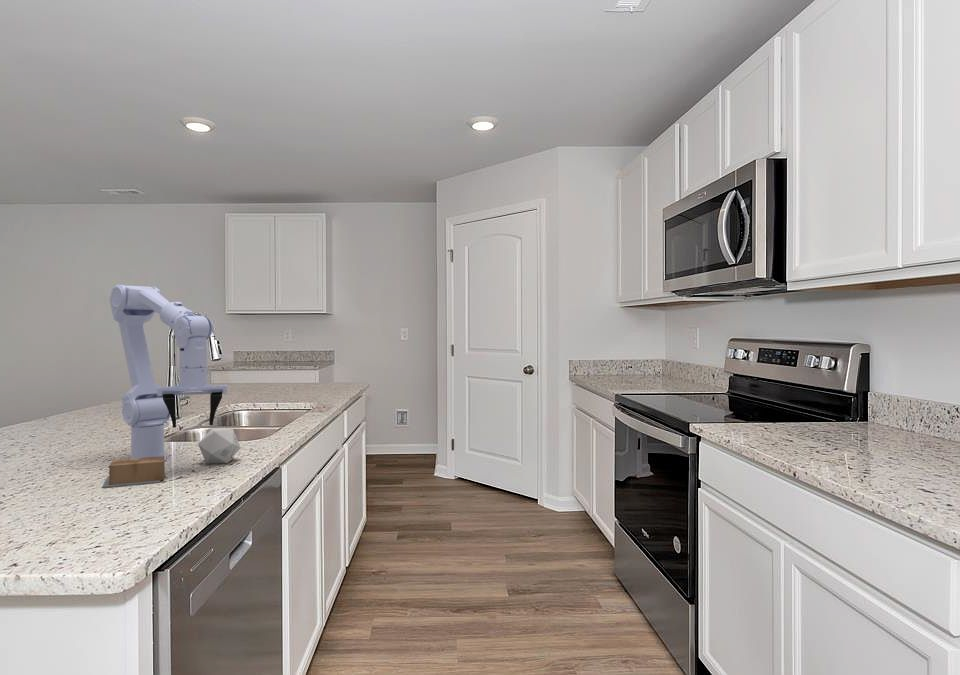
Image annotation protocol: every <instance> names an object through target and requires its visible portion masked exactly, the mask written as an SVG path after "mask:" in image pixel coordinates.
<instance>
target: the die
mask: <svg viewBox="0 0 960 675" xmlns="http://www.w3.org/2000/svg"><path fill="white" fill-rule="evenodd" d="M197 445H198V447H199V451H200V452H201V454H202V457H203V459H204V461H205V463H206V464H229V462H230V461H231V460H232V459H233V458H234V456H236V454H237V453H238V452H239V451H240V449H241V444H240V443H239V440H238V437H237V435H236V433H235V431H234V429H233V428H211V429H210V430H208V432H206V434H205V435H204V437H202V438H201V440H199V442H198V443H197Z"/></svg>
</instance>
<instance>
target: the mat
mask: <svg viewBox="0 0 960 675" xmlns="http://www.w3.org/2000/svg"><path fill="white" fill-rule="evenodd" d="M105 478H106V479H105V480H104V482H103V484H102V485H101V489H105V488H106V489H108V488H118V487H127V486H128V487H131V486H140V485H150V484H159V483H161V481H162V480H157V481H146V482H136V483H125V484H115V485H109V476H106V477H105Z"/></svg>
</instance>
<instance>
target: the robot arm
mask: <svg viewBox="0 0 960 675" xmlns="http://www.w3.org/2000/svg"><path fill="white" fill-rule="evenodd" d="M110 292H111V294H110V295H109V296H110V297H109V303H110V309H111V312H112V317H113V321H115V322H117V323H118V327H119V332H120V337H121V342H122V347H123V351H124V356H125V361H126V365H127V371H128V374H129V380H130V384H131V388H130V389H129V390H128V391H126V393H125V394H124V395H123V396H122V398H121V402H122V407H121V408H122V410H121V414H122V419H123V420H124V422H125V423H126V424H127V426H129V427H130V457H129V459H132V458H144V457H157V456H164V462H166V461H167V460H166V459H167V452H166V451H165V424H167V423H168V420H170V419H171V423H172V428H177V417H176V396H190V395H191V396H192V395H193V396H194V395H209V400H210V401H209V406H210V407H209V419H208V420H209V421H208V422H209V426H213V425H214V420H215V415H216V412H217V410H218V408H219V405H220V403H221V401H222V398H223V395H225V394H228V384H207V380H208V379H207V376H208V375H207V368H208V367H207V363H208V362H207V358H208V357H207V356H208V355H207V353H208V352H207V350H208V348H207V345H208V344H207V343H208V342H207V340H209V339H210V338H211V336H212V333H213V323H212V320H211V319H210V318H209V317H208V315H205V314H202V315H197V314H195V313H194V311H193V310H191V309H188V308H187V307H185V306H184V304H183V302H181V301H172V302H170V301H169V300H167V299H166V298H165V297H164V296H163V295H162V291H161V289H159V288H158V287H156V286H152V285H151V286H142V285H140V286H139V285H124V284H121V283H120V284H119V283H118V284H116V285H115V286H114V287H113V288H112V290H111V291H110ZM155 314H159V319H160V321H161V322H162V323H163V324H165V325H167V327H168V328H170V329H171V330H173V334H174V337H175V339H176V346H177V348H178V350H179V351H178V352H179V353H178V354H179V355H178V357H179V359H178V360H179V363H178V364H179V366H178V367H179V369H178V372H179V374H178V376H179V378H178V381H179V382H178V383H179V385H174V386H160V385H159V384H157V383H156V381H155V376H154V373H153V367H152V362H151V357H150V354H149V349H148V343H147V339H146V334H145V330H144V324H145V323H148V322H150V321H151V320H152V318H153V317H154V315H155Z"/></svg>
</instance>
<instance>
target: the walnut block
mask: <svg viewBox="0 0 960 675" xmlns="http://www.w3.org/2000/svg"><path fill="white" fill-rule="evenodd" d="M108 468H109V469H108V470H109V472H108V473H109V474H108V475H109V476H108V477H109V485H115V484H125V483H136V482H146V481H157V480H161V481H164V480H165V461H164V456H157V457H144V458H132V459H130V458H122V459H119V458H118V459H111V462H110V464H109V465H108Z"/></svg>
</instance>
